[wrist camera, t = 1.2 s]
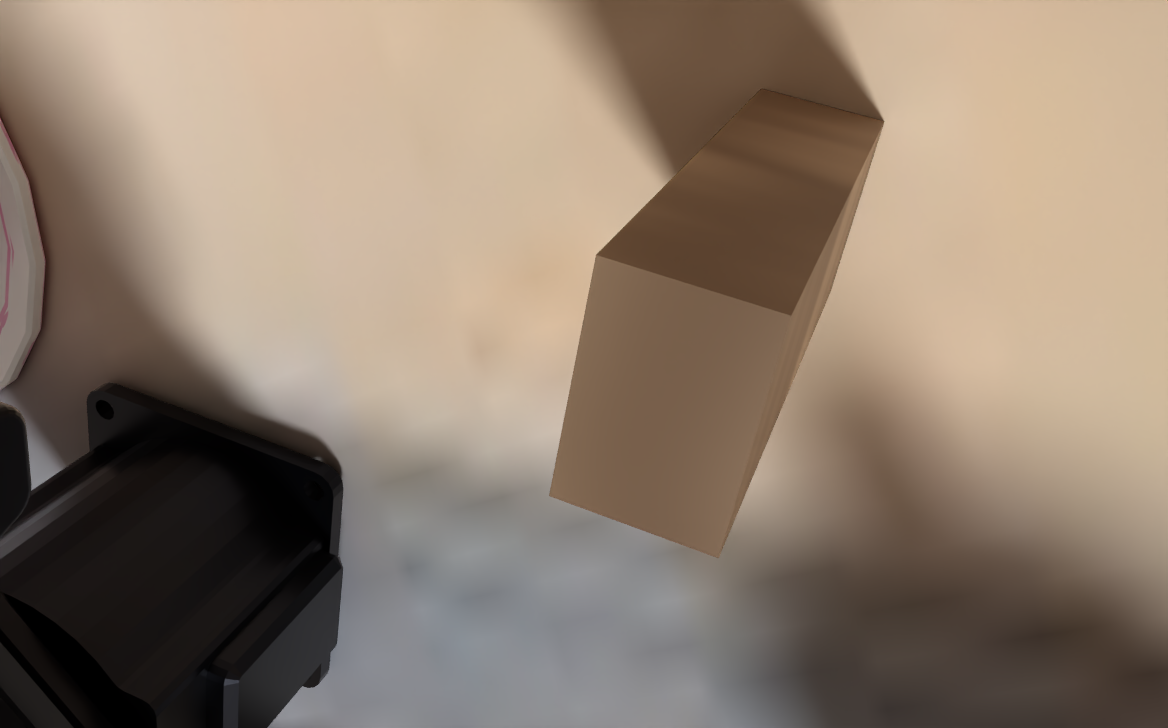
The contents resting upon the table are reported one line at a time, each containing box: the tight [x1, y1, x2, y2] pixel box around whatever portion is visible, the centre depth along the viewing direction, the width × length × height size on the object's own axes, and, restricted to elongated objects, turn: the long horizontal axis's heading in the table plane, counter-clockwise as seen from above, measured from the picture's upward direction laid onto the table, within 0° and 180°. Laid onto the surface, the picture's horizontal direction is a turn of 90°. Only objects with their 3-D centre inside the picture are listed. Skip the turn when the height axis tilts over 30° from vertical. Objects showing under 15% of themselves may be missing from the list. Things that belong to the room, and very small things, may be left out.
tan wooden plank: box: [549, 89, 884, 558], centre depth 15 cm, size 2×3×8 cm, turn 170°
